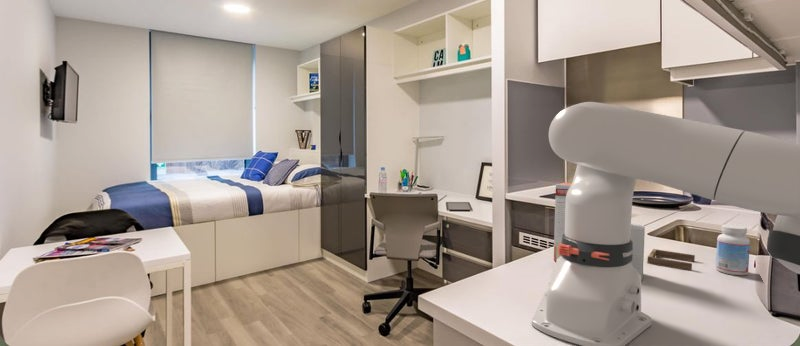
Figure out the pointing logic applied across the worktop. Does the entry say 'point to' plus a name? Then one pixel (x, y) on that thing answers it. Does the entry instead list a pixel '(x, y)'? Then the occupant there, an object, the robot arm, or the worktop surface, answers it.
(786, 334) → the worktop surface
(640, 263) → the skincare box
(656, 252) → the stop
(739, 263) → the pill bottle
